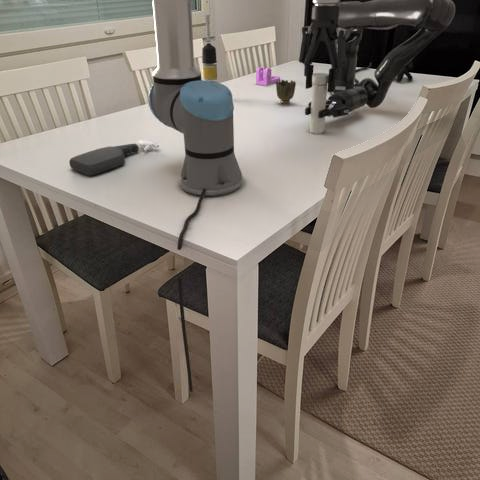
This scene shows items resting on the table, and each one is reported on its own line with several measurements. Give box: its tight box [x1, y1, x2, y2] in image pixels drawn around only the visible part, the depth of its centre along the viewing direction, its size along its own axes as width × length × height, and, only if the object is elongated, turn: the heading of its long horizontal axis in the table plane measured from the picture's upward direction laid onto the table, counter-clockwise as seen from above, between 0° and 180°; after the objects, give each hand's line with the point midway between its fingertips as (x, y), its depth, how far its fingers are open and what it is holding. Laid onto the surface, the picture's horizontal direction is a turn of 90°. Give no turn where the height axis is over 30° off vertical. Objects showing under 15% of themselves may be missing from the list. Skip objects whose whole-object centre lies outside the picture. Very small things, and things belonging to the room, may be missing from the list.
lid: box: [312, 72, 329, 85], centre depth 134 cm, size 5×5×2 cm
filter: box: [201, 14, 218, 82], centre depth 171 cm, size 6×6×30 cm
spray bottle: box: [68, 139, 160, 177], centre depth 124 cm, size 3×11×24 cm
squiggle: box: [396, 59, 414, 83], centre depth 198 cm, size 11×10×15 cm
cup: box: [275, 79, 297, 106], centre depth 168 cm, size 8×7×8 cm
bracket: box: [255, 66, 281, 87], centre depth 199 cm, size 13×6×7 cm, turn 143°
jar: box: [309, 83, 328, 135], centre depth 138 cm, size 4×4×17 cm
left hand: (319, 89), depth 136 cm, fingers open, 7 cm apart
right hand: (312, 113), depth 138 cm, fingers closed on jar, 4 cm apart
